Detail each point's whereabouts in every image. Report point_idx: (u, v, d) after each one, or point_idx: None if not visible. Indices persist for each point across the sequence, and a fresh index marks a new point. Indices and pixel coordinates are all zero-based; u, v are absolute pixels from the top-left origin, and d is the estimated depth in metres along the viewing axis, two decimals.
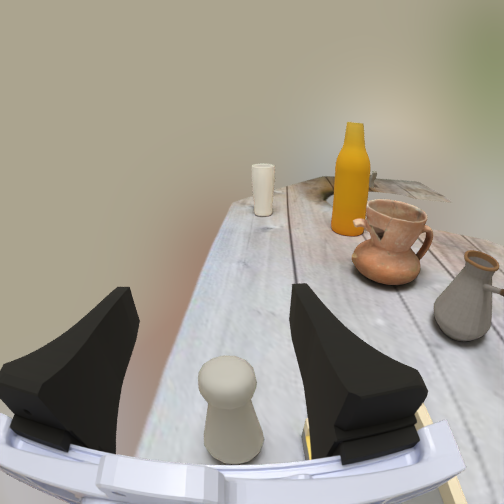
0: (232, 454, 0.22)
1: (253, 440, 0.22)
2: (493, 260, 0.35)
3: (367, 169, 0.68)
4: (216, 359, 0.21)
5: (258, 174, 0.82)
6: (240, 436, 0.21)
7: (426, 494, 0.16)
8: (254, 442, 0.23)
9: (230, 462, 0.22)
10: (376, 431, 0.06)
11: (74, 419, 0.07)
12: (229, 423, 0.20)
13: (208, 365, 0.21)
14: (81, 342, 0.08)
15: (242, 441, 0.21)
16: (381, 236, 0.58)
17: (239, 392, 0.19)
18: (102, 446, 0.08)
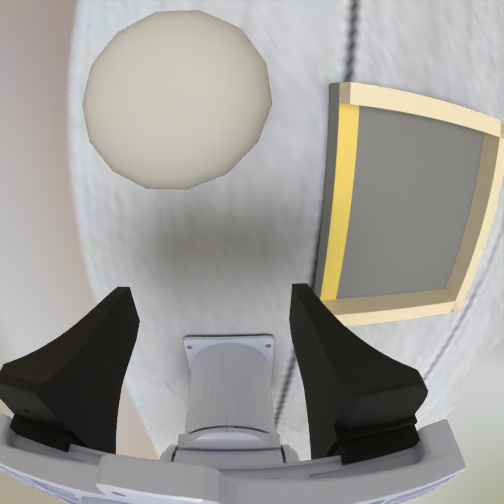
0: None
1: None
2: None
3: None
4: (126, 48, 0.04)
5: None
6: None
7: (445, 252, 0.20)
8: None
9: None
10: (376, 431, 0.06)
11: (74, 419, 0.07)
12: None
13: (102, 81, 0.05)
14: (81, 342, 0.08)
15: None
16: None
17: (215, 174, 0.06)
18: (102, 446, 0.08)
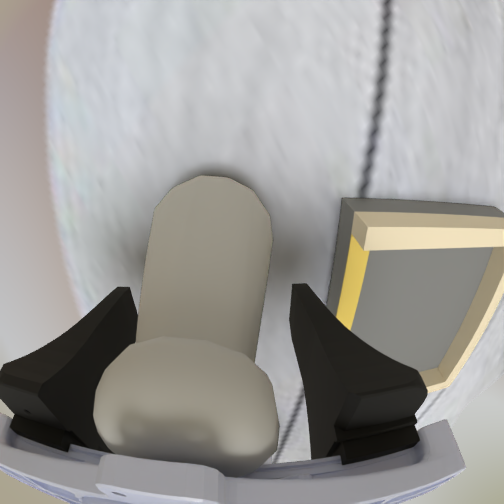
0: None
1: None
2: None
3: None
4: (132, 440, 0.04)
5: None
6: None
7: (440, 342, 0.20)
8: None
9: None
10: (376, 431, 0.06)
11: (74, 419, 0.07)
12: None
13: (117, 446, 0.05)
14: (81, 342, 0.08)
15: None
16: None
17: None
18: (102, 446, 0.08)
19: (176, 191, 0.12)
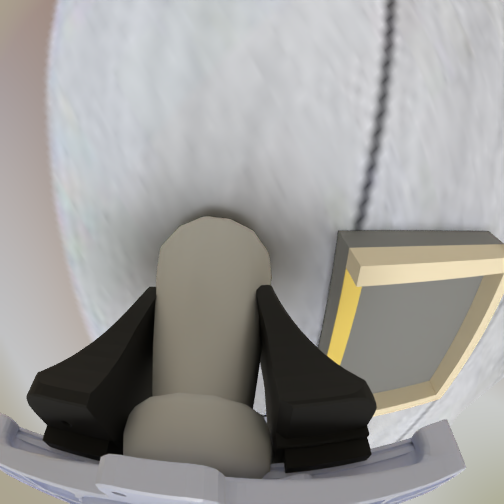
0: None
1: None
2: None
3: None
4: None
5: None
6: None
7: (432, 358, 0.21)
8: None
9: None
10: (321, 441, 0.06)
11: (118, 428, 0.07)
12: None
13: None
14: (121, 345, 0.08)
15: None
16: None
17: None
18: None
19: (181, 234, 0.13)
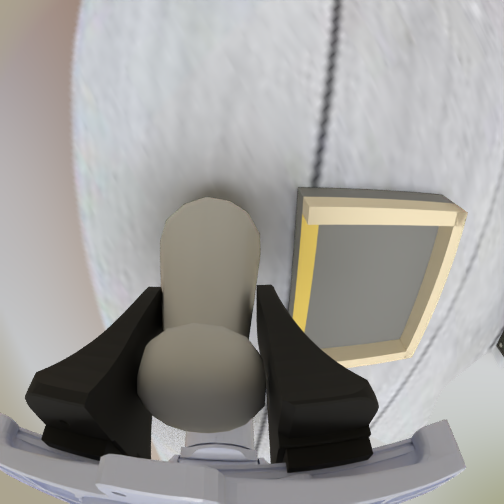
0: None
1: None
2: None
3: None
4: (173, 392, 0.07)
5: None
6: None
7: (398, 314, 0.25)
8: None
9: None
10: (323, 441, 0.06)
11: (116, 427, 0.07)
12: None
13: (156, 400, 0.08)
14: (120, 345, 0.08)
15: None
16: None
17: None
18: (140, 453, 0.08)
19: (187, 209, 0.15)
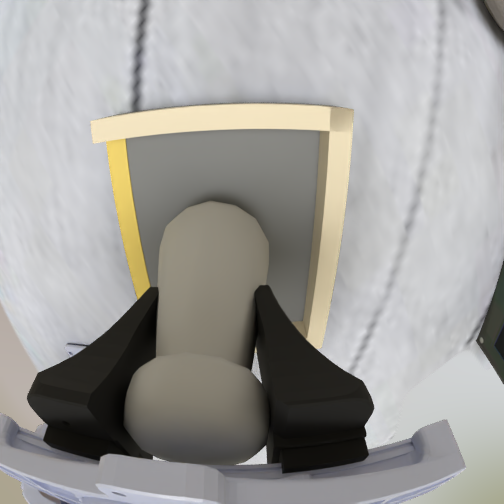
0: None
1: None
2: None
3: None
4: (160, 432, 0.06)
5: None
6: None
7: (286, 281, 0.20)
8: None
9: None
10: (318, 442, 0.06)
11: (119, 428, 0.07)
12: None
13: (143, 437, 0.06)
14: (122, 345, 0.08)
15: None
16: None
17: None
18: (142, 453, 0.08)
19: (188, 214, 0.14)
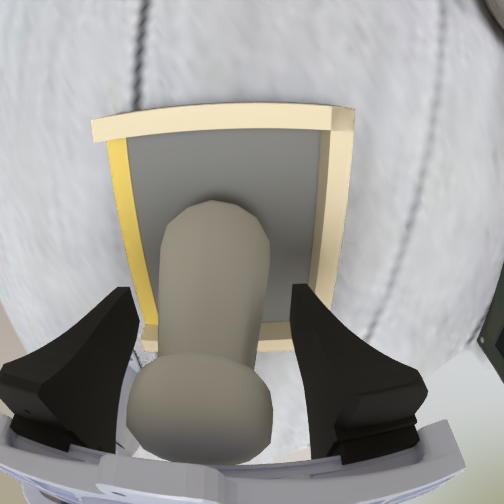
0: None
1: None
2: None
3: None
4: (164, 432, 0.06)
5: None
6: None
7: (287, 281, 0.20)
8: None
9: None
10: (376, 431, 0.06)
11: (74, 419, 0.07)
12: None
13: (147, 438, 0.06)
14: (81, 342, 0.08)
15: None
16: None
17: None
18: (102, 446, 0.08)
19: (189, 213, 0.14)
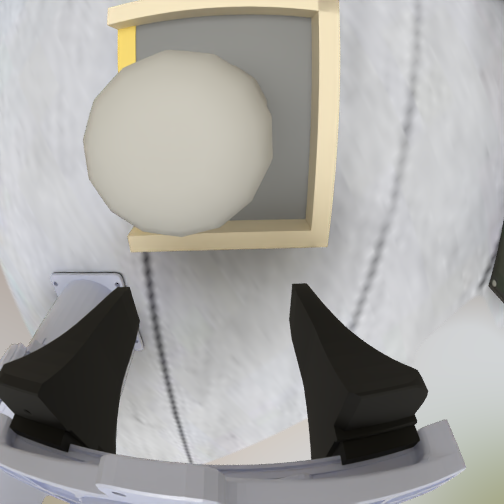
0: None
1: None
2: None
3: None
4: (130, 92, 0.05)
5: None
6: None
7: (286, 167, 0.18)
8: None
9: None
10: (376, 431, 0.06)
11: (74, 419, 0.07)
12: None
13: (104, 123, 0.05)
14: (81, 342, 0.08)
15: None
16: None
17: (210, 228, 0.07)
18: (102, 446, 0.08)
19: None
